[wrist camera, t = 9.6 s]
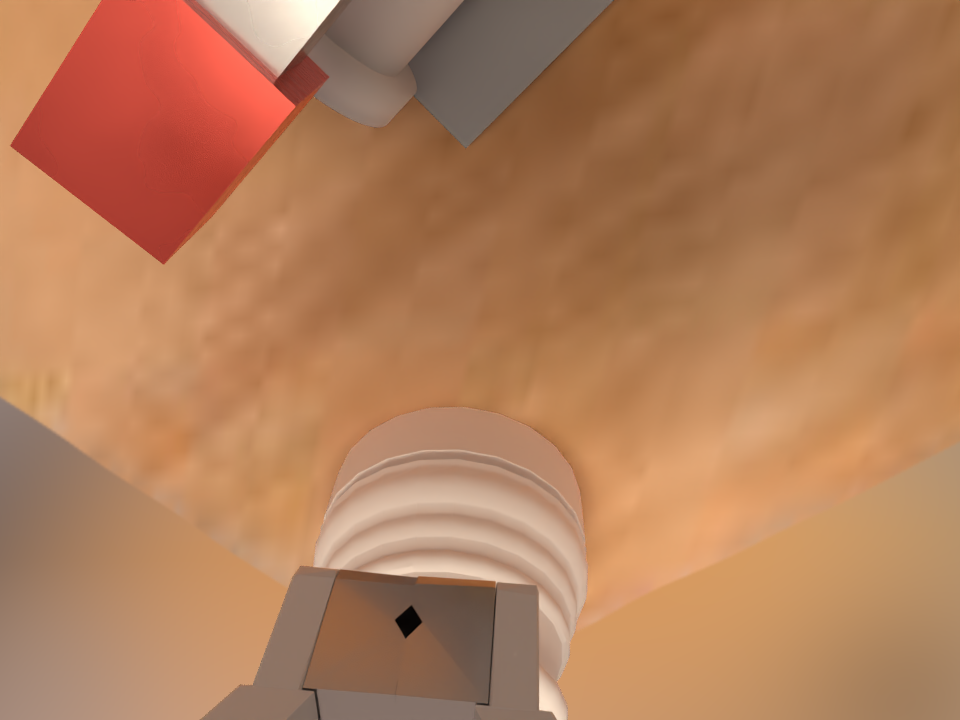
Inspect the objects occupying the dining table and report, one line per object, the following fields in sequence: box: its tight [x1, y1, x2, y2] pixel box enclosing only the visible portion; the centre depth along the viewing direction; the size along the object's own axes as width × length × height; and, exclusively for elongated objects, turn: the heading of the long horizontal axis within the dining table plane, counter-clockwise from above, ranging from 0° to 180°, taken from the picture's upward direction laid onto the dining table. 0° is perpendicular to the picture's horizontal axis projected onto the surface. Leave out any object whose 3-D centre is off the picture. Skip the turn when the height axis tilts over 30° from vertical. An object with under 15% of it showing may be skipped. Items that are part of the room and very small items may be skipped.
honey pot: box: [313, 407, 588, 720], centre depth 30 cm, size 13×13×18 cm
